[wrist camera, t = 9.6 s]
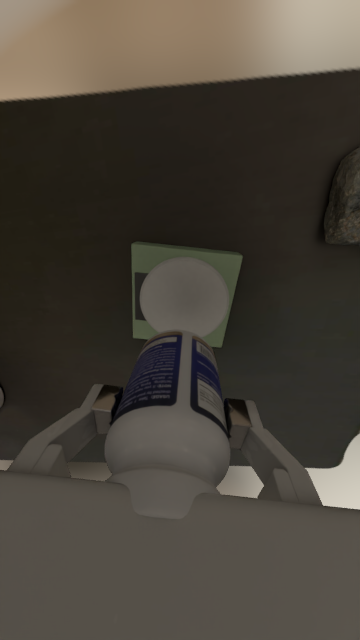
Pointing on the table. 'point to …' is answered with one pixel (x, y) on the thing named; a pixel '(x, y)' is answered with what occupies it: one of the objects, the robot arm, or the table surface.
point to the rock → (344, 203)
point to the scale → (182, 290)
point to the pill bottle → (170, 427)
